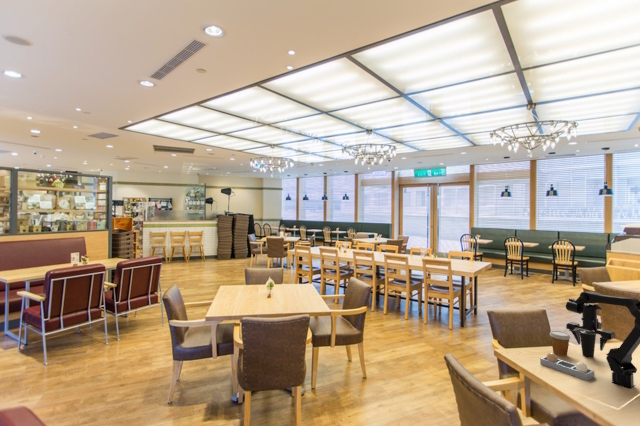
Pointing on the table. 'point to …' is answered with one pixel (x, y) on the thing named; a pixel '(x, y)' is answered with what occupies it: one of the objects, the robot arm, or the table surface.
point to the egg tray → (567, 368)
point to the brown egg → (551, 357)
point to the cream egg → (581, 367)
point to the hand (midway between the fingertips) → (590, 347)
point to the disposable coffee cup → (560, 342)
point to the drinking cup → (587, 343)
